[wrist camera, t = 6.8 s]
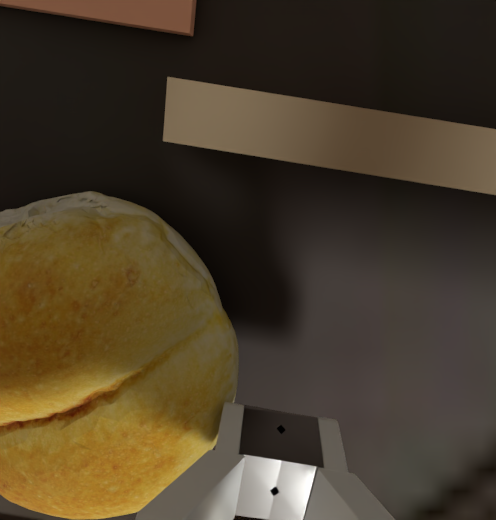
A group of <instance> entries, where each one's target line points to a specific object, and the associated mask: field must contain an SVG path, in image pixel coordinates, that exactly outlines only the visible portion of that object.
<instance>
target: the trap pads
mask: <svg viewBox="0 0 496 520" xmlns="http://www.w3.org/2000/svg"><path fill="white" fill-rule="evenodd" d="M0 6H4V7H10V8H16V9H23V10H29V11H35V12H42V13H48V14H54V15H61V16H67V17H73V18H79V19H86V20H92V21H98V22H105V23H111V24H117V25H124V26H130V27H136V28H143V29H149V30H155V31H161V32H168V33H174V34H180V35H187V36H193V34H194V23H195V12H196V0H0Z"/></svg>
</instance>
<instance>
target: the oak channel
mask: <svg viewBox="0 0 496 520" xmlns="http://www.w3.org/2000/svg"><path fill="white" fill-rule="evenodd" d="M163 141H165V142H171V143H177V144H184V145H190V146H196V147H202V148H208V149H214V150H221V151H227V152H233V153H239V154H245V155H251V156H258V157H264V158H270V159H276V160H282V161H288V162H295V163H301V164H307V165H313V166H319V167H326V168H332V169H338V170H344V171H350V172H356V173H363V174H369V175H375V176H381V177H387V178H393V179H400V180H406V181H412V182H418V183H424V184H430V185H437V186H443V187H449V188H455V189H461V190H467V191H474V192H480V193H486V194H492V195H496V129H491V128H485V127H479V126H473V125H466V124H460V123H454V122H448V121H441V120H435V119H429V118H423V117H416V116H410V115H404V114H398V113H391V112H385V111H379V110H373V109H366V108H360V107H354V106H348V105H341V104H335V103H329V102H323V101H316V100H310V99H304V98H298V97H291V96H285V95H279V94H273V93H266V92H260V91H254V90H248V89H241V88H235V87H229V86H223V85H216V84H210V83H204V82H198V81H191V80H185V79H179V78H173V77H167V90H166V104H165V118H164V132H163Z"/></svg>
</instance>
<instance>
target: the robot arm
mask: <svg viewBox="0 0 496 520" xmlns="http://www.w3.org/2000/svg"><path fill="white" fill-rule="evenodd" d="M235 515H237V516H245V517H252V518H260V519H267V520H395V519H394V518H393V517H392V516H391V514H390V513H389V512H388V511H387V510H386V509H385V508H384V507H383V505H382V504H381V503H380V502H379V501H378V500H377V499H376V497H375V496H374V495H373V494H372V493H371V492H370V491H369V490H368V488H367V487H366V486H365V485H364V484H363V483H362V482H361V481H360V479H359V478H358V477H357V476H356V475H355V474H354V473H348V469H347V464H346V459H345V454H344V449H343V444H342V439H341V434H340V429H339V424H338V422H337V420H336V419H330V418H323V417H313V416H306V415H300V414H293V413H287V412H281V411H275V410H270V409H264V408H259V407H254V406H248V405H241V404H236V403H230V402H225V403H224V405H223V410H222V416H221V421H220V427H219V432H218V437H217V443H216V448H215V451H213V450H209V451H207V452H206V453H205V454H204V455H203V456H202V457H201V458H199V459H198V460H197V461H196V462H195V463H194V464H193V465H191V466H190V467H189V468H188V469H187V470H186V471H185V472H183V473H182V474H181V475H180V476H179V477H178V478H177V479H175V480H174V481H173V482H172V483H171V484H170V485H169V486H167V487H166V488H165V489H164V490H163V491H162V492H161V493H159V494H158V495H157V496H156V497H155V498H154V499H153V500H151V501H150V502H149V503H148V504H147V505H146V506H145V507H143V508H142V509H141V510H140V511H139V512H138V513H137V516H136V519H135V520H233V519H234V518H235Z"/></svg>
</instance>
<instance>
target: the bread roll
mask: <svg viewBox="0 0 496 520" xmlns="http://www.w3.org/2000/svg"><path fill="white" fill-rule="evenodd" d="M238 371H239V355H238V342H237V337H236V333H235V330H234V328H233V326H232V324H231V321H230V319H229V318H228V316H227V314H226V312H225V310H224V309H223V308H222V305H221V301H220V297H219V294H218V292H217V288H216V285H215V283H214V281H213V279H212V276H211V274H210V272H209V271H208V269H207V267H206V266H205V264H204V263H203V261H202V260H201V259H200V257H199V256H198V255H197V253H196V252H195V251H194V249H193V248H192V247H191V246H190V245H189V244H188V243H187V242H186V241H185V239H184V238H183V237H182V236H181V235H180V234H179V233H178V232H177V231H175V230H174V229H173V228H172V227H171V226H169V225H168V224H167V223H166V222H165V221H164V220H162V219H161V218H160V217H159V216H158V215H157V214H155V213H154V212H152V211H150V210H148V209H146V208H144V207H142V206H139V205H137V204H134V203H132V202H129V201H125V200H122V199H118V198H115V197H109V196H106V195H103V194H101V193H98V192H94V191H87V192H83V193H76V194H73V193H72V194H70V195H65V196H60V197H55V198H50V199H44V200H40V201H37V202H33V203H30V204H28V205H26V206H24V207H20V208H17V209H7V210H4V211H3V212H0V494H1V495H2V496H3V497H5V498H6V499H7V500H9V501H11V502H13V503H16V504H18V505H20V506H22V507H25V508H27V509H30V510H34V511H37V512H41V513H45V514H48V515H52V516H57V517H63V518H68V519H101V518H108V517H114V516H120V515H125V514H130V513H135V512H138V511H140V510H141V509H142V508H143V507H145V506H146V505H147V504H148V503H149V502H150V501H151V500H153V499H154V498H155V497H156V496H157V495H158V494H159V493H161V492H162V491H163V490H164V489H165V488H166V487H167V486H169V485H170V484H171V483H172V482H173V481H174V480H175V479H177V478H178V477H179V476H180V475H181V474H182V473H183V472H185V471H186V470H187V469H188V468H189V467H190V466H191V465H193V464H194V463H195V462H196V461H197V460H198V459H199V458H201V457H202V456H203V455H204V454H205V453H206V452H207V451H209V450H212V449H213V447H214V446H215V444H216V443H217V437H218V432H219V427H220V421H221V416H222V410H223V405H224V403H225V402H230V403H234V399H235V395H236V389H237V385H238Z"/></svg>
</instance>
